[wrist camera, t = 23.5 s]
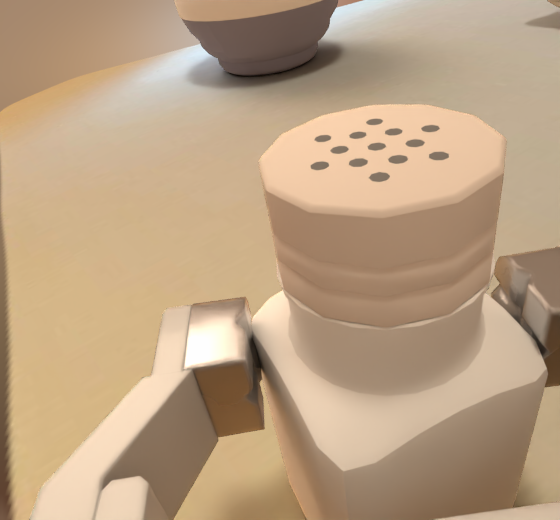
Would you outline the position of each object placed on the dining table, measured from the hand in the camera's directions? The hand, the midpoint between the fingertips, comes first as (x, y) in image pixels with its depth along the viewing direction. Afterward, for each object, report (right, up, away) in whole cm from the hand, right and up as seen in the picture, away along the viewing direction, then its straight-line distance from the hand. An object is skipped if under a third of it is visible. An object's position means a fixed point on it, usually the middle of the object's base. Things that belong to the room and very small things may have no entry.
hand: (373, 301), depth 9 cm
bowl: (-3, +19, +37) cm, 42 cm away
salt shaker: (+1, -5, +3) cm, 6 cm away
